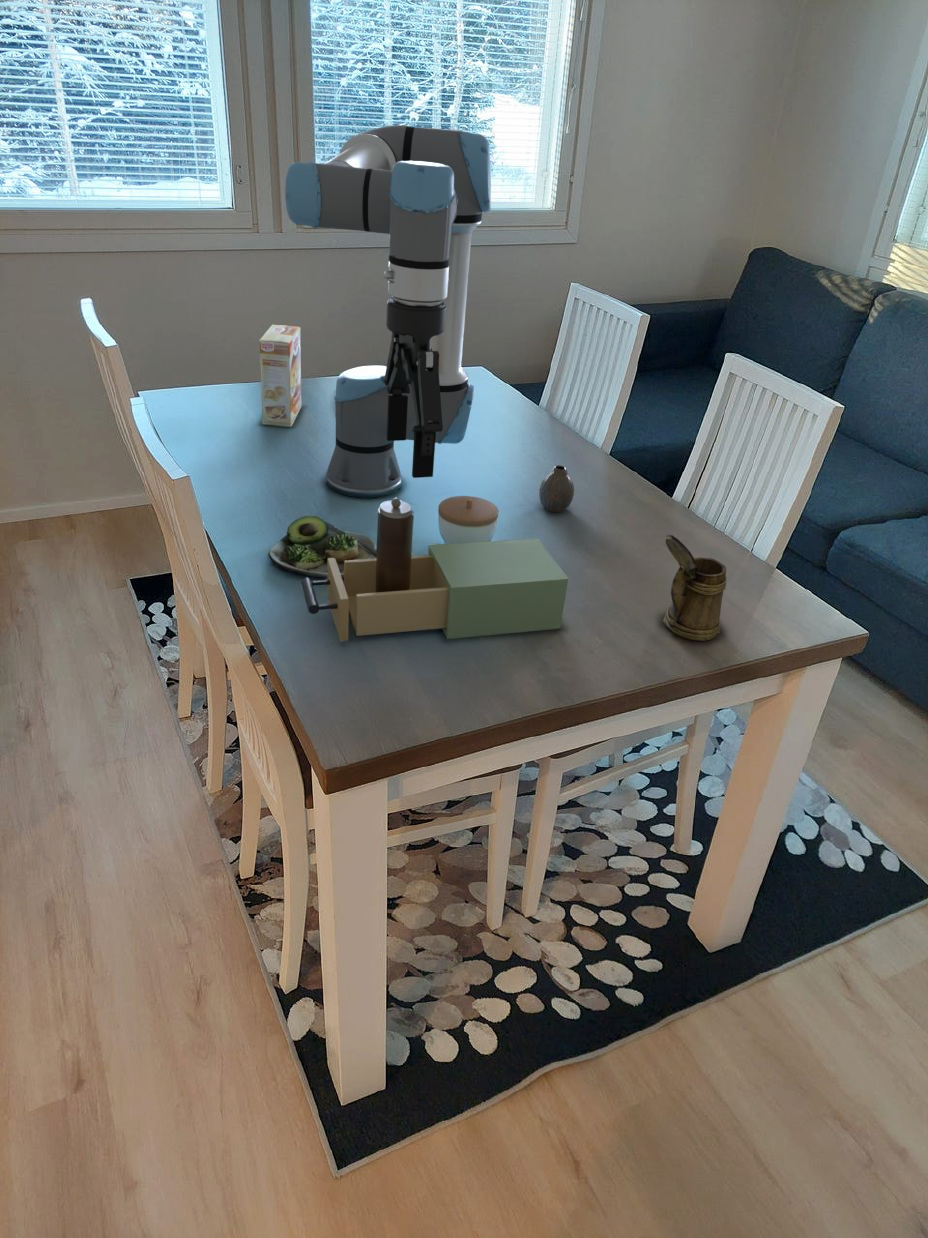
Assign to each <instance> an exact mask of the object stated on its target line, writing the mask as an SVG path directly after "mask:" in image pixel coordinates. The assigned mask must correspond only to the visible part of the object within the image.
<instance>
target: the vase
mask: <svg viewBox="0 0 928 1238" xmlns="http://www.w3.org/2000/svg"><path fill="white" fill-rule="evenodd" d="M571 477H572V476H570V474H569V472H568V468H567V467H566V466H564V465H561V464H560V465H559V464H558V465H555V466H553V468H552V470H550V472H548V474H546V475H545V476H544V477H543V479H542V480H541V483H540V485H539V490H538V491H539V492H538V496H539V497H538V498H539V501H540V504H541V505H542V507H543V508H544V509H545V510H546V511H549V512H552V513H560V512H564V511H565V510H566V509H568V508H569V507H570V505H571V504H572V502H573V499H574V495H575V484H574V481H573V479H572V478H571Z"/></svg>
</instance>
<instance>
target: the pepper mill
mask: <svg viewBox="0 0 928 1238" xmlns="http://www.w3.org/2000/svg"><path fill="white" fill-rule="evenodd" d="M414 515H415V512H414V509H413V507H412V505H411V504H410V503H409V502H406V501H404V500H401V499H400V498H398V497H395V498H393V499H391V500H386V501H383V502H382V503H380V505H379V508H378V509H377V527H376V528H377V529H376V550H377V554H376V586H375V593H378V592H392V591H405V590H410V573H411V556H413V536H414Z"/></svg>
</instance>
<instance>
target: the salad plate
mask: <svg viewBox="0 0 928 1238" xmlns="http://www.w3.org/2000/svg"><path fill="white" fill-rule="evenodd" d="M267 554H268V558H269V559H270V561H271V563H273V564H274V565H275V566H276V567H277V568H279V569H281V570H283V571H285V572H289V573H293V574H297V575H298V574H299V575H300V576H301V575H302V576H305V577H313V578H323V579H324V578H325V579H327V559H328V558H335V559H336V562H337V565H338V568H339V571H340V574H341V577H342V579H344V561H345V560H360V559H375V558H376V554H377V544H376V543H375V541H374V539H372V538H371V537H370V536H368V535H366V534H361V533H357V532H352V531H347V530H342V529H339V528H338V527H335V525H334V524H332V523H329V522H327V521H325V520H324V519H323V518H321V517H320V516H315V515H306V516H301V517H299V518H297V519H295V520H294V521H292V522H291V523H290V524H289V525H288V526H287V530H286V534H285V535H284V536H283V537H282V538H281V539H280V540H279V541H277V542H276V543H275V544H274V545H273V546H272V547H271V548H270V549H269V550H268V553H267Z"/></svg>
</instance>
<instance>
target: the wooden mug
mask: <svg viewBox="0 0 928 1238" xmlns="http://www.w3.org/2000/svg"><path fill="white" fill-rule="evenodd" d="M664 541H665V545H666V547H667V549H668V550H669V552H670V555H672V557H673V558H674V559H675V561H676V562H677V564H678V566H679V568H678V569H677V571H676V573H675V574H674V576H673V579H672V583H671V587H670V596H671V597H670V598H671V601H672V602H671V604H670V606H669V607H668V608H667V610H666V612H665V615H664V618H663V623H664V625H665V626H666V627H667V629H668V630H669V631H671V632H672V633H673V634H674V635H676V636H678V637H680V638H682V639H684V640H689V641H693V642H705V641H710V640H713V639H714V638H716V637H717V636H718V635H719V634H720V632H721V611H722V602H723V596H724V591H725V589H726V588H727V580H728V579H727V576H726V575H727V568H726V565H724V564H723V563H722V562H720V561H719V560H717V559H715V558H711V557H695V558H694V556H693V554H692V553H691V551H690V550H689V549H688V548H687V546H686V545H685V544H684V543H683V542H682V541H681V540H680V539H679V538H678V537H676V536H674V535H672V534H667V535H666V536H665V540H664Z"/></svg>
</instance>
